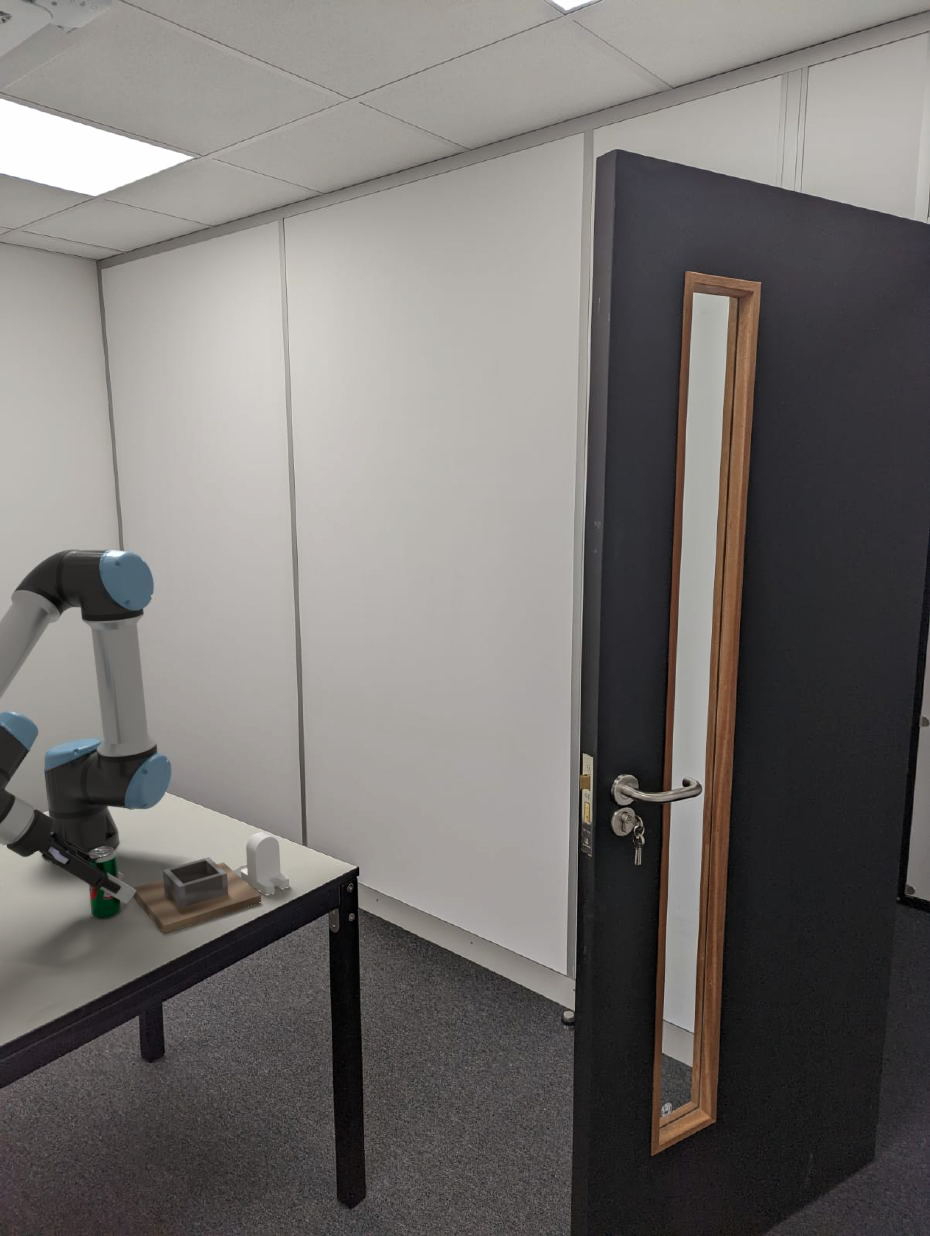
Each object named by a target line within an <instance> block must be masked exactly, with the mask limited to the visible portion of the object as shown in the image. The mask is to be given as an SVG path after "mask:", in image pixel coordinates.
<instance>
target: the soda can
mask: <svg viewBox="0 0 930 1236" xmlns="http://www.w3.org/2000/svg"><path fill="white" fill-rule="evenodd" d="M87 861H88V862H89V863H91V864H92V865H94V866H95V867H97V868H98V869H100V870H101V871H103V872H104V873H109V874H110V875H112V876H114V877H115V878H117V879H119V875H118V872H119V866H118V865H119V863H118V854H117V852H115V847H114V848H112V847H99V848H96V849H93V850H91V851H90V852H89V856H88V858H87ZM88 890H89V904H90V905H89V906H90V912H91V913H90V914H91V916H93V917H94V918H96V919H102V920H103V919H109V918H112V917H115V916H116V915H118V913H119V912H120V911H121V909H122V904H121V903H122V901H121V900H119V899H117V898H116V897H114V896H112V895H110V894H109V893H107V892H105V891H103V890H102V889H99V890H97V891H96V892H95V891H94V887H93V886H91V885H89V884H88Z"/></svg>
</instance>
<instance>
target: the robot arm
mask: <svg viewBox="0 0 930 1236" xmlns="http://www.w3.org/2000/svg"><path fill="white" fill-rule="evenodd" d="M149 566H150V565H148V563H147V562H146V561H145V560H144V559H143V558H142V557H141V556H140V555H139V554H137V553H135V552H132V551H127V550H126V551H125V550H118V549H66V550H65V549H64V550H62V551H59V552H56V553H55V554H53V555H50V556H49V557H47V558H45V559H44V560H42V561H41V562H40V563H39V564H37V565H36V566H35V567H34V568H32V570H31V571H30V572H28V574H27V575H26V576H25V577H23V579H22V581H20V583H19V584H18V586H16V588H15V589H14V591H13V593H12V594H11V596H10V599H11V602H12V604H11V605H10V607H9V609H8V610H7V612H6V613H5V614H4V615H3V617H2V618H1V620H0V700H1V699H2V697H3V696H4V694H5V692H6V691H7V689H8V688H9V687H10V685H11V683H12V682H13V680H14V679H15V678H16V676H17V674H18V673H19V670H21V668H22V667H23V665H24V663H25V662H26V661H27V659H28V658H29V656H30V654H31V652H32V651H33V649H34V648H35V646H36V645H37V643H38V642H39V640H40V638H41V637H42V635H43V634H44V632H45V631H46V629H47V628H48V626H49V625H50V624H53V623H56V622H57V621H59V619H60V617H61V616H62V615H63V613H64V612H66V611H67V610H69V609H71V608H80V613H81V621H82V622H84V623H85V624H87V625H88V627H90V628H91V637H92V638H91V639H92V645H93V646H92V647H93V654H94V655H93V656H94V665H95V673H96V681H97V682H96V683H97V691H98V698H99V699H98V700H99V708H100V718H101V719H100V720H101V726H102V734H103V741H102V739H100V738H96V737H95V738H94V737H93V738H84V739H79V740H78V739H77V740H74V741H69V742H65V743H62V744H59V745H56V746H54V747H52V748H49V750H47V751H46V752H45V754H44V769H43V771H44V772H43V773H44V780H45V788H46V799H47V800H46V801H47V807H48V815H47V814H45V813H43V812H42V811H41V810H39V809H34V806H33V805H31V804H29V803H28V802H26V801H25V800H23V799H21V798H20V797H18V796H17V795H15V794H13V793H11V792H9V791H8V790H7V789H6V787H7V786H8V784H9V782H10V781H11V780H12V777H14V775H15V773H16V772H17V770H18V769H19V767H20V766H21V764H22V763H23V762H24V760H25V758H26V757H27V755H28V753H30V751H31V748H32V747H33V745H34V744H35V741H36V739H37V738H38V736H39V728H38V726H37V724H35V722H34V721H33V720H32V719H30V718H29V717H28V716H25V715H24V714H21V713H19V712H15V711H11V710H5V711H2V712H0V845H2V846H6V848H7V849H8V850H10V851H12V852H13V853H15V854H16V855H19V856H20V857H23V858H28V857H30V856H32V855H33V854H35V853H37V852H39V853H40V854H41V857H43V858H44V859H45V860H46V861H51V863H52V864H53V865H54V866H57V867H60V868H61V869H63V870H65V871H66V872H68V873H70V874H72V875H73V876H75V877H76V878H78V879H79V880H81V881H83V882H84V883H86V884H88V886H89V885H91V886H93V887H94V891H95V892H96V891H97V890H99V889H102V890H103V891H105V892H107V893H109V894H110V895H112V896H114V897H116V898H117V899H119V900H120V901H121V903H122V902H123V903H124V904H126V905H127V904H128V903H129V902H130V900H131V899H132V898H133V897H134V896H133V895H134V894H135V892H136V889H134V888H135V887H132V886H130V885H128V884H127V883H126V882H124V881H122V879H123V877H124V874H123V873H121V871H118V875H119V879H117V878H115V877H114V876H112V875H110V874H109V873H104V872H103V871H101V870H100V869H98V868H97V867H95V866H94V865H92V864H91V863H89V862H88V861H87V858H88V856H89V852H90V851H91V850H93V849H96V848H99V847H112V848H114V849H115V847H117V845H118V844H119V843H120V836H119V835H120V834H119V833H120V832H119V829H118V827H117V825H116V823H115V820H114V819H113V815H112V814H111V812H110V809H109V807H112V808H121V809H127V810H132V811H133V810H148V809H151V808H153V807H155V806H156V805H157V804H158V803H160V801H161V800H162V799H163V798H164V796H165V794H166V792H167V791H168V789H169V786H170V783H171V778H172V763H171V761H170V759H169V758H168V756H166V755H164V754H163V753H159V752H158V745H157V744H158V743H157V740H156V739H155V738H154V737H153V736H151V735H150V734H149V731H148V724H147V723H148V721H147V720H148V719H147V713H146V712H147V711H146V703H145V691H144V682H143V671H142V664H141V663H142V662H141V661H142V660H141V652H140V642H139V632H138V622H139V621H140V620H141V619H142V617H144V615H145V614H144V613H145V612H144V608H146V607H147V606H148V605H149V604H150V603H151V600H152V599H153V598H152V595H154V590H155V583H154V577H153V574H152V570H151V569H150V567H149Z"/></svg>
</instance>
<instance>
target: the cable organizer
mask: <svg viewBox="0 0 930 1236" xmlns="http://www.w3.org/2000/svg"><path fill="white" fill-rule="evenodd" d="M245 848H246V849H245V850H246V851H245V852H246V867H245V868H242V869H240V877H241V878H242V879H243V880H244V881H245V882H246V883H248V884H249V885H250V886H252V888H253V887H254V888H256V889H257V890H256V889H255V890H256V891H258V890H260V891H261V892H262V893H264V894H272V893H274V894H275V887H276V886H279V887H281V888H283V889H284V888H286V887H289V888H290V877H289V876H287V875H285V874H284V873H282V872H281V857H280V856H281V855H280V854H281V852H280V842H279V841H278V839H277V838H275V837H273V836H272V835H270V834H268V833H266V832H265V831H264V832H263V831H259V832H256V833H254V834H252V835H251V836H250V838H249V839H248V840H247V843H246V847H245ZM274 886H275V887H274ZM279 887H278V888H279ZM254 888H253V889H254ZM281 888H280V889H281ZM283 889H282V890H283ZM284 890H285V889H284ZM261 892H260V893H261ZM262 893H261V894H262ZM264 894H263V895H264ZM272 895H273V894H272Z"/></svg>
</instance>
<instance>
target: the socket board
mask: <svg viewBox="0 0 930 1236" xmlns="http://www.w3.org/2000/svg"><path fill="white" fill-rule="evenodd" d="M162 873H163V874H162V875H163V877H162V878H163V879H160V880H156V881H153V882H148V883H145V884H142V885H137V886H135V887H133V888H134V889H136V892H135V894H134V896H133V897H134V898H135V899H136V901H137V902H138V901H139V902H138V903H139V904H140V906H141V907H142V906H143V907H144V908H143V907H142V908H143V910H145V911H146V912H148V913H147V914H148V915H149V916H150V918H151V917H152V918H151V919H152V921H154V923H156V924H155V925H157V926H158V927H159V928H160V930H161V931H162V932H163V933H164V934H168V933H171V932H174V931H177V930H180V929H183V927H184V928H187V927H190V926H192V924H193V925H196V924H199V923H202V922H201V921H203V922H205V921H206V922H207V921H208V920H212V919H214V917H215V918H218V917H221V916H224V915H226V914H227V915H228V914H230V913H232V912H233V911H234V912H237V911H239V910H243V909H246V908H249V907H252V906H255V905H254V904H256V905H258V904H257V903H259V902H261V903H262V898H261V897H262V895H261V894H260V892H259V891H257V890H256V889H254V888H253V887H251V886H250V885H249V884H247V883H246V882H245V881H244V880H243V879H242V878H241V876H239V875H238V873H236V872H235V871H234V870H232V869H231V868H230V867H229V866H228V865H227V864H226V863H225V862H219V863H216V862H215V861H214V860H213V859H212V858H211V857H205V858H202V859H198V860H194V861H190V862H186V863H183V864H180V865H176V866H172V867H169V868H165V869H162ZM259 904H260V903H259ZM251 905H252V906H251ZM248 906H249V907H248ZM245 907H246V908H245ZM242 908H243V909H242ZM234 912H233V913H234ZM211 918H212V919H211ZM189 925H190V926H189ZM186 926H187V927H186Z"/></svg>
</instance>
